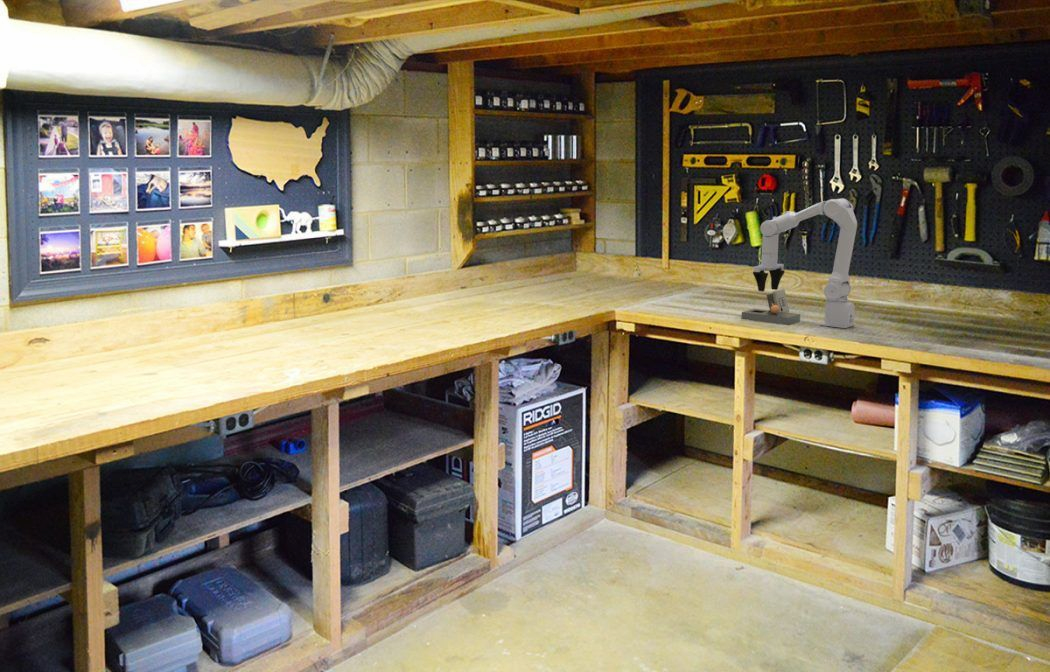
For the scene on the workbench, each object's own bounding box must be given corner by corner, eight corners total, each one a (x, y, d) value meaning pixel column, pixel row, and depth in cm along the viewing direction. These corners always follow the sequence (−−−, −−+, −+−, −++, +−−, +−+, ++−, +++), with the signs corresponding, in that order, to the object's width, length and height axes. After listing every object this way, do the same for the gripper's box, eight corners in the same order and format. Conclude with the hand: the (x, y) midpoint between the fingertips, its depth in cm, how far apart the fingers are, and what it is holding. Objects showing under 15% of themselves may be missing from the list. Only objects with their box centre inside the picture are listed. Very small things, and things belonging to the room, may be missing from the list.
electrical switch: (779, 316, 353) (778, 291, 351) (766, 316, 356) (765, 291, 355) (789, 313, 360) (788, 288, 359) (776, 313, 363) (776, 288, 362)
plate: (799, 321, 343) (800, 314, 342) (787, 324, 335) (788, 317, 335) (754, 315, 354) (754, 308, 354) (741, 318, 347) (741, 312, 346)
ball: (780, 313, 343) (781, 304, 343) (776, 314, 341) (777, 305, 340) (772, 312, 345) (773, 303, 345) (768, 313, 343) (769, 304, 342)
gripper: (773, 251, 353) (771, 287, 356) (748, 253, 344) (746, 290, 347) (789, 252, 348) (787, 289, 350) (763, 255, 339) (762, 292, 342)
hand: (767, 290), depth 348 cm, fingers open, 7 cm apart
